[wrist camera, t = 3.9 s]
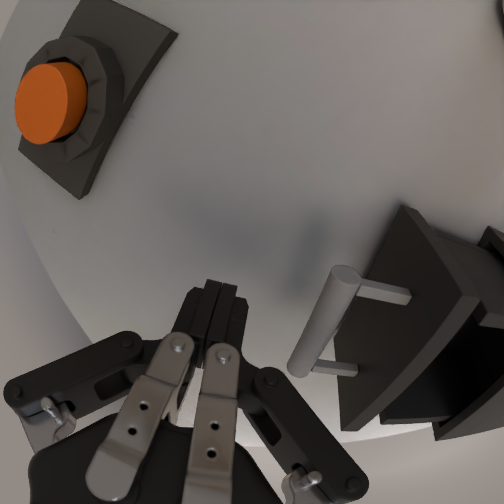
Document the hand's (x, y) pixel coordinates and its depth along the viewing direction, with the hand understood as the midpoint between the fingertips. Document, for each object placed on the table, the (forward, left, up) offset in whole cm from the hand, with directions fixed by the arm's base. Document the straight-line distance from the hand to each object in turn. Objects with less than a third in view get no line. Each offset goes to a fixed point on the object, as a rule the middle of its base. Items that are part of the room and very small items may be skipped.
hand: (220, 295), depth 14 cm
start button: (+2, +14, -2) cm, 14 cm away
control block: (+2, +14, -5) cm, 15 cm away
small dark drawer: (+6, -12, -4) cm, 14 cm away
